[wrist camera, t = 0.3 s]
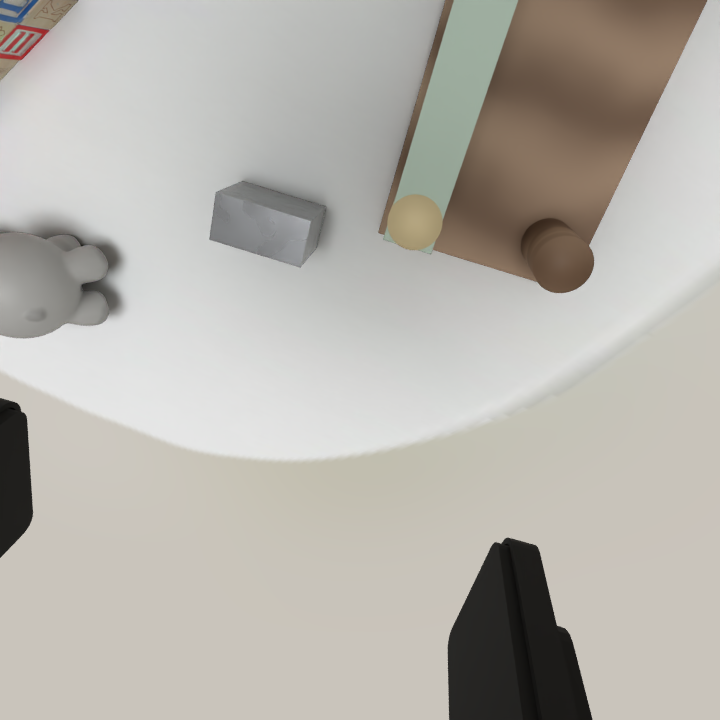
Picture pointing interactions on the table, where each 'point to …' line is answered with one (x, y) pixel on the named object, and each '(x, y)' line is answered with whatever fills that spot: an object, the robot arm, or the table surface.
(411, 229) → the folding leg
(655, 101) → the stool seat
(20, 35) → the stack of blocks
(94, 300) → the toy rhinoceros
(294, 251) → the block
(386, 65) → the table surface
